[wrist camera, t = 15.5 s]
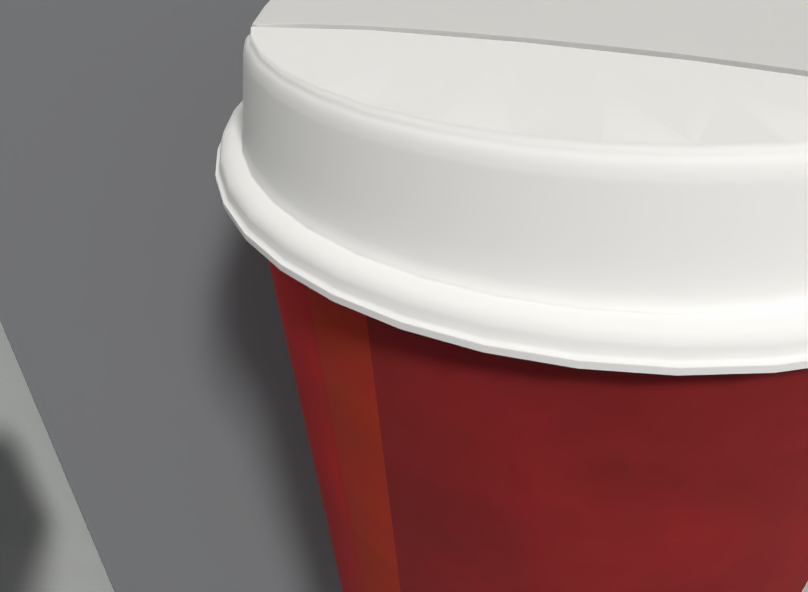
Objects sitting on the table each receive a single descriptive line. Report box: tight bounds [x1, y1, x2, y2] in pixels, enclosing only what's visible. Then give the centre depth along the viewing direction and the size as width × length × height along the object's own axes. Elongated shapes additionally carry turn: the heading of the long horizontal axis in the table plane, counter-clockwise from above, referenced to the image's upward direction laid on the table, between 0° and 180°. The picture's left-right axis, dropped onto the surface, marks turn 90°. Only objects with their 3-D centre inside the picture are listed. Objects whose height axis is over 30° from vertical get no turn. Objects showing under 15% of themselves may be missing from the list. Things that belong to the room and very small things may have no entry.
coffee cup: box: [215, 0, 808, 592], centre depth 12 cm, size 8×8×15 cm
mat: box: [0, 0, 343, 592], centre depth 15 cm, size 14×22×1 cm, turn 6°
